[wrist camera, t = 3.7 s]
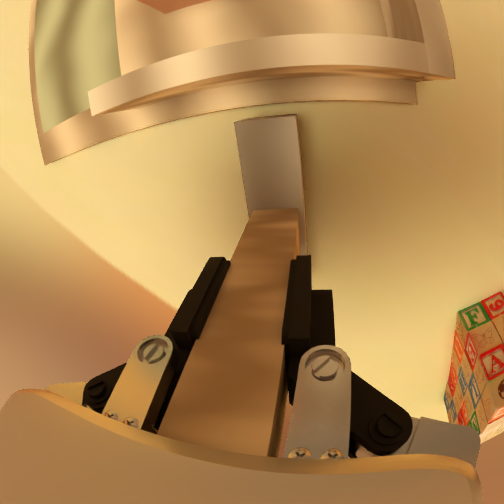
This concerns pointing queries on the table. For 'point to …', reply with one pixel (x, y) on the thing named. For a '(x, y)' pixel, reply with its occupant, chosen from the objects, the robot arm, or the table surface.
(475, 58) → the table surface
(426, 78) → the cubby
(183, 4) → the block
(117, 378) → the robot arm
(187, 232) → the table surface
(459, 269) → the table surface
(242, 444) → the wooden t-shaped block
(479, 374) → the stack of blocks
